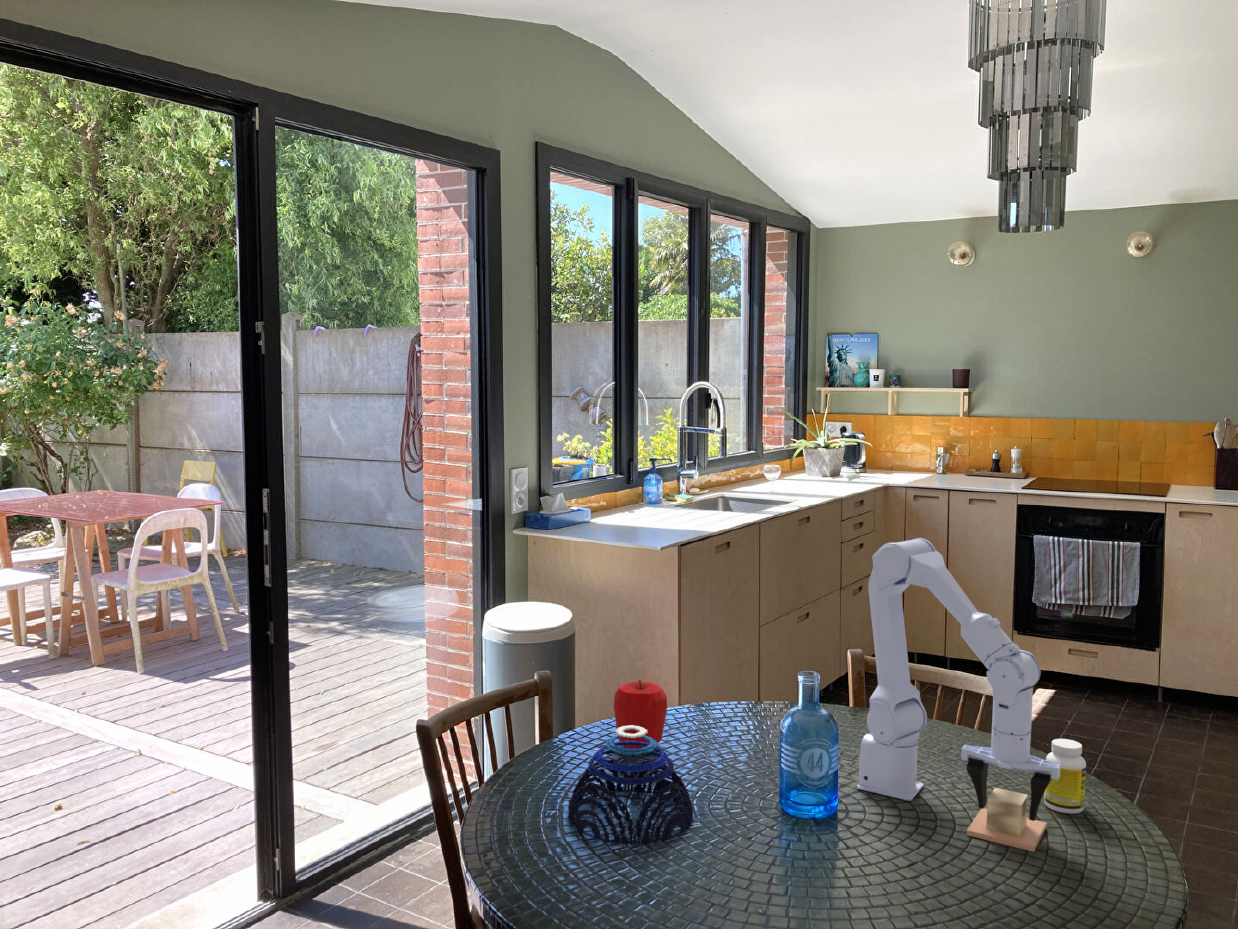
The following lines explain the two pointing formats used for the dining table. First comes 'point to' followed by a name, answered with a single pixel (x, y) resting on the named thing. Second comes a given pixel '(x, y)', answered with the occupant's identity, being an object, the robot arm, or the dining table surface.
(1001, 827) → the maple cube
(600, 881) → the dining table surface
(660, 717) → the apple
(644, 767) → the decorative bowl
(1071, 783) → the pill bottle
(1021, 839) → the coaster
